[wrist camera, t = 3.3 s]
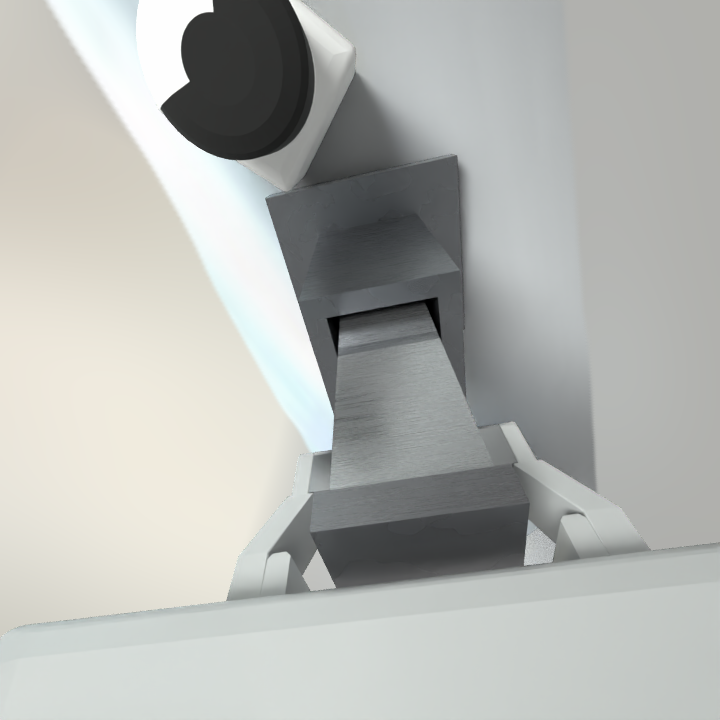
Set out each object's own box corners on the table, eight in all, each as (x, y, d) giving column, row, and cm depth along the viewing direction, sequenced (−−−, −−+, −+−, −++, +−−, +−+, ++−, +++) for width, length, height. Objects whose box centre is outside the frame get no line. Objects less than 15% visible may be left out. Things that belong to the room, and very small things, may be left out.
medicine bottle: (357, 70, 22) (362, 19, 12) (303, 180, 25) (270, 213, 15) (247, -20, 20) (137, -177, 10) (203, 113, 23) (87, 100, 13)
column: (339, 247, 26) (309, 532, 8) (401, 234, 26) (529, 502, 7) (352, 303, 29) (353, 623, 10) (409, 293, 28) (519, 605, 10)
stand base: (269, 195, 25) (203, 247, 14) (451, 154, 24) (539, 175, 13) (316, 347, 32) (298, 464, 21) (460, 321, 31) (521, 430, 20)
